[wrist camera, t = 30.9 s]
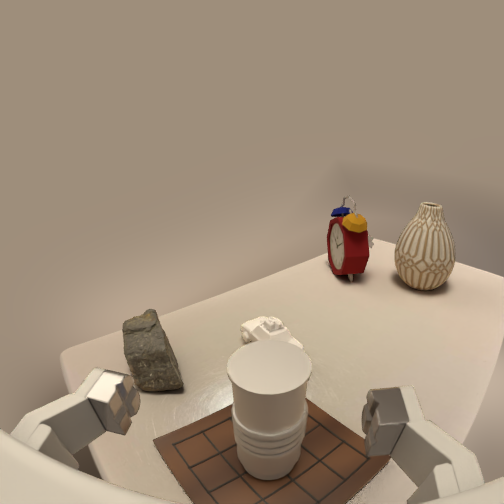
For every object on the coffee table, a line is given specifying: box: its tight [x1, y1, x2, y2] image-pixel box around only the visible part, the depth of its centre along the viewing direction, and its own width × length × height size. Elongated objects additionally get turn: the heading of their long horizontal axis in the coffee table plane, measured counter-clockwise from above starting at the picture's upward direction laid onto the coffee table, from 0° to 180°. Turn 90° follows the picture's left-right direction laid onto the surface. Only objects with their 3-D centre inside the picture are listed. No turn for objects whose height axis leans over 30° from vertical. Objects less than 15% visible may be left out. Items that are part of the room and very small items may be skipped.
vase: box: [395, 202, 455, 290], centre depth 66 cm, size 16×16×20 cm
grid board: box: [153, 398, 391, 504], centre depth 29 cm, size 20×20×1 cm
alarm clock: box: [327, 196, 374, 282], centre depth 74 cm, size 15×9×20 cm, turn 4°
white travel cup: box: [227, 340, 312, 480], centre depth 26 cm, size 7×7×15 cm
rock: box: [122, 309, 183, 391], centre depth 45 cm, size 17×7×10 cm
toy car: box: [240, 317, 304, 350], centre depth 49 cm, size 6×12×7 cm, turn 31°
